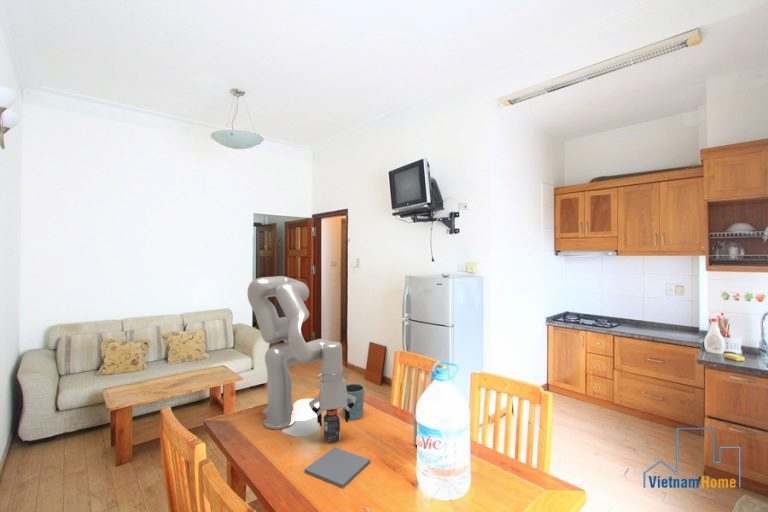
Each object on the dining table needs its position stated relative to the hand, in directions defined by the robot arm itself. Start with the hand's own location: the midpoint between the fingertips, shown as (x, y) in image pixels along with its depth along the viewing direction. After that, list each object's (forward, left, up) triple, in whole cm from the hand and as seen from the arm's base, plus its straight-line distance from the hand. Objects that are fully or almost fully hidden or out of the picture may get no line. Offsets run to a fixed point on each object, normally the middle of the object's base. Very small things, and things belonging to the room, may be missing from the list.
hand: (333, 422), depth 131 cm
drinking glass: (-6, +20, -7) cm, 22 cm away
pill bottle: (-1, 0, -7) cm, 7 cm away
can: (+30, +14, -7) cm, 34 cm away
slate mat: (+12, -12, -7) cm, 18 cm away
